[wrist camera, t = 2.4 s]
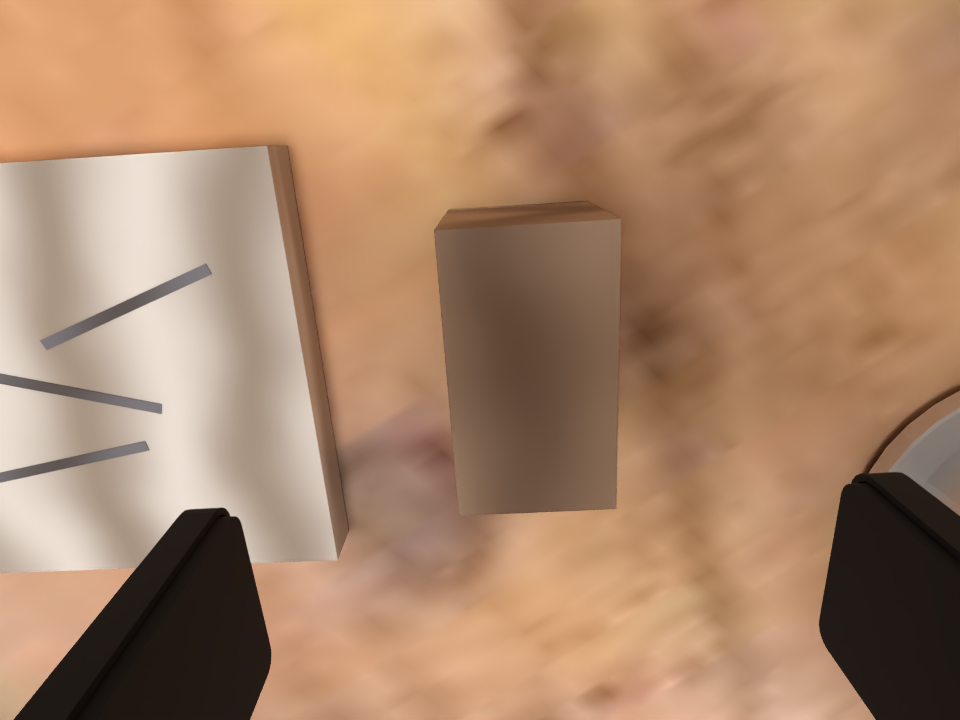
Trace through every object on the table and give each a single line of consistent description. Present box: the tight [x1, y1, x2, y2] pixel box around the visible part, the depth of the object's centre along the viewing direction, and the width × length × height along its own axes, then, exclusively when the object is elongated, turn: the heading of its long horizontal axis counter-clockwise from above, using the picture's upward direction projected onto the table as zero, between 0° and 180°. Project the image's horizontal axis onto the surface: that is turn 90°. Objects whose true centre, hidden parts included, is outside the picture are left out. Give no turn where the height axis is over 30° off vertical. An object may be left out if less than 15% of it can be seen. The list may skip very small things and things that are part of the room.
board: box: [0, 146, 349, 573], centre depth 23 cm, size 16×16×2 cm
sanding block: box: [434, 201, 621, 516], centre depth 20 cm, size 5×9×6 cm, turn 4°
